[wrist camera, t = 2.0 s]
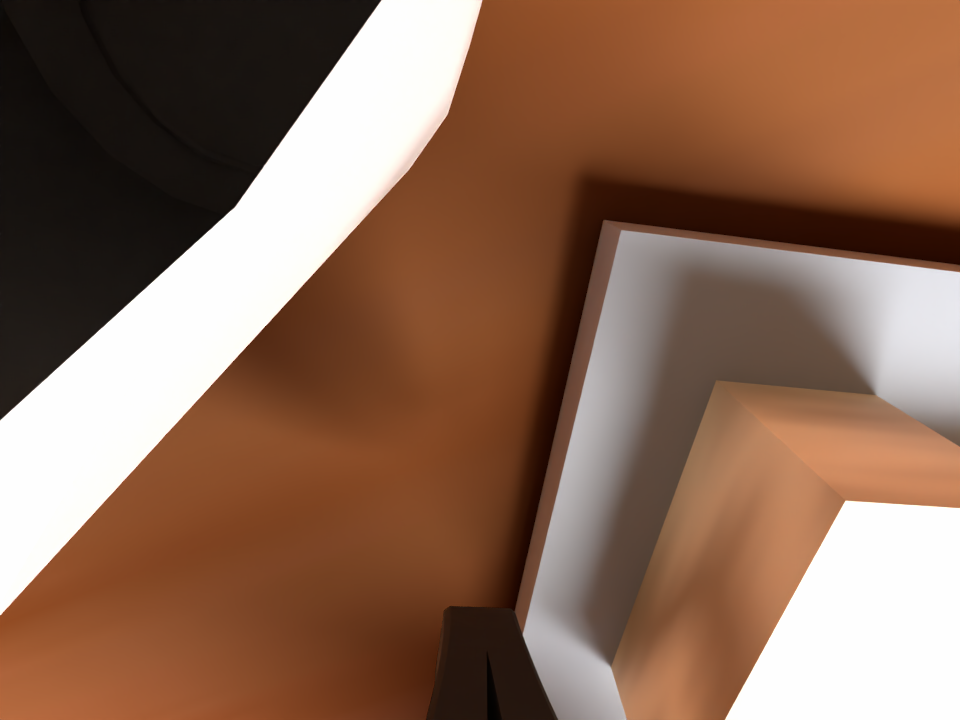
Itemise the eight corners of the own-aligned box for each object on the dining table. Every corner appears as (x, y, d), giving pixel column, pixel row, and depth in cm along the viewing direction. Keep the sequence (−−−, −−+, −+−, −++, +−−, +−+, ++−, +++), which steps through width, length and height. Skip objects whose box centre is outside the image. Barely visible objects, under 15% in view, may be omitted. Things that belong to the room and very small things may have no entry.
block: (928, 674, 16) (1063, 828, 13) (610, 667, 15) (661, 834, 12) (1129, 418, 12) (1410, 537, 9) (716, 380, 11) (845, 500, 8)
